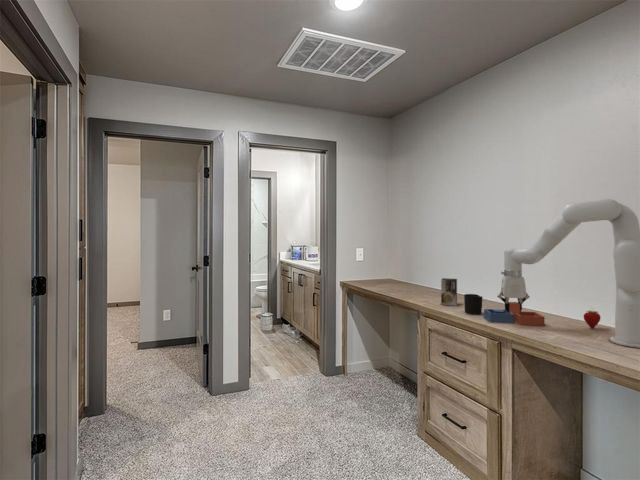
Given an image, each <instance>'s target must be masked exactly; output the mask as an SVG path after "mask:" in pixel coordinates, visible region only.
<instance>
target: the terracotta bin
mask: <svg viewBox="0 0 640 480" xmlns="http://www.w3.org/2000/svg"><path fill="white" fill-rule="evenodd" d="M512 314H514V323H516V324H518V325H519V326H532V327H533V326H536V327H537V326H538V327H545V321H546V320H545V316H544V315H542V314H540V313H538V312H536V311H523V310H521V312H520V313H512Z"/></svg>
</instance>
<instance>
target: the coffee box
mask: <svg viewBox="0 0 640 480" xmlns="http://www.w3.org/2000/svg"><path fill="white" fill-rule="evenodd" d="M440 285H441V286H440V288H441V289H440V294H441V295H440V298H441V299H440V300H441V301H440V305H441V306H450V307H451V306H452V307H457V305H458V278H448V277H447V278H446V277H442V278H441V281H440Z"/></svg>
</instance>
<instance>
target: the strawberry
mask: <svg viewBox="0 0 640 480" xmlns="http://www.w3.org/2000/svg"><path fill="white" fill-rule="evenodd" d="M590 308H591V309H593V308H592V307H590ZM583 320H584V322H585V323H586V324H587V325H588V326H589V328H590V329H594V328H596V327H597V325H598V324H599V323H600V322H601V315H600V313H599V312H598V311H595V310H587V311H585V313H584V314H583Z"/></svg>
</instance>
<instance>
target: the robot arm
mask: <svg viewBox="0 0 640 480" xmlns="http://www.w3.org/2000/svg"><path fill="white" fill-rule="evenodd" d="M598 221H599V222H601V221H608V222H610V224H611V226H612V230H613V241H614V247H613V249H612V255H613V266H614V276H615V277H614V278H615V308H614V309H615V312H614V314H615V315H614V316H615V317H614V336H611V337H609V341H610V342H611V343H613V344H616V345H620V346H624V347H630V348H638V349H640V221H639V218H638V216H637V215H636V213H635V212H634V211H633V209H631V208H630V207H629V206H627V205H626V204H623V203H620V202H618V201H617V200H615V199H611V198H605V199H597V200H596V199H595V200H587V201H581V202H580V201H579V202H571V203H568V204H567V205H565V206H564V207H563V209H562V210H561V213H559V215H558V216H557V217H556V218H554V219H553V221H552V222H550V223H549V224H548V226H546V227H545V228H544V230H543V232H542V235H541V236H540V237H539V238H538V239H537V240H536V241H535V242H534V243H533V244H532V245H531V246H530V247H528V248H517V247H515V248H510V247H509V248H505V249H504V252H503V253H504V254H503V260H504V261H503V263H504V265H503V271H501V272H500V273H501V275H503V276H502V280H501V287H500V291H499V292H498V294H497V296H496V297H497V298H498V299H500V300H501V301H502V302H503V303H504V310H506V311H507V312H509V304H508V302H510V299H517V303H519V304H520V312H521V311H523V304H524V302H526V300H528V299H530V295H529V294H528V293H527V287H526V280H525V277H524V276H523V264H524V265H534V264H538V263H539V262H541V261H542V260H543V259H544V258H545V257H546V256H547V255H548V254H550V253H551V251H552V250H554V249H555V248H556V247H557V246H558V245H560V243H561V242H562V241H564V239H566V238H567V237H568V236H569V235H570V234H571V233H572V232H573V231H574V230H575V229H576V228H577V227H578V226H580V225H581V224H582V223H589V222H598Z"/></svg>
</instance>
